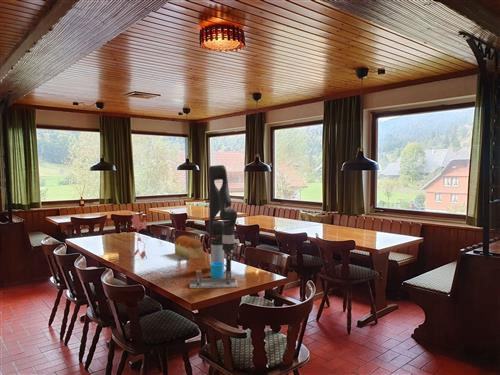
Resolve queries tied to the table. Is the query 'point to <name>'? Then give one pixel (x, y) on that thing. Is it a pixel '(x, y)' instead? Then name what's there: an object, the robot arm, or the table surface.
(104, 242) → the table surface
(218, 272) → the mug
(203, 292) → the table surface
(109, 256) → the table surface
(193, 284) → the pitch gauge
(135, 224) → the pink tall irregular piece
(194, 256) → the bread
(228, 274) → the sliding leg
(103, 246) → the table surface
